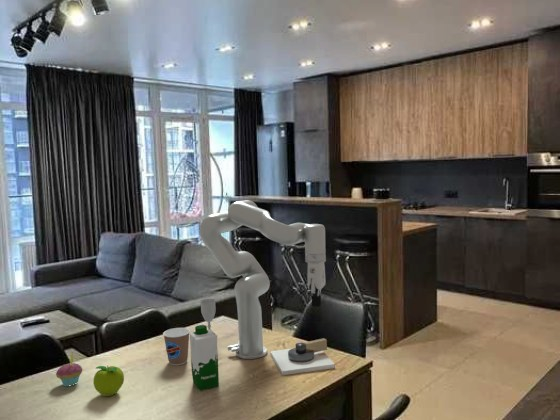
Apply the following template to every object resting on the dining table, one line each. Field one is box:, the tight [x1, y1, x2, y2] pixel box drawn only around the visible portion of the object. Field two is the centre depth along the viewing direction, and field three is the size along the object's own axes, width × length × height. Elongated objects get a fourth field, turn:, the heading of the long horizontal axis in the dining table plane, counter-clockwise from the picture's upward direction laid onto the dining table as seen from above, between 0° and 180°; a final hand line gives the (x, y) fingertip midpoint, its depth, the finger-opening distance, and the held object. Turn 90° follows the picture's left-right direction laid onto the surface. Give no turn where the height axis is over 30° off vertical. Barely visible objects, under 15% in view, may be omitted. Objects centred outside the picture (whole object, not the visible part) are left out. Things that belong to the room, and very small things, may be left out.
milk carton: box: [189, 324, 220, 391], centre depth 163 cm, size 9×9×20 cm
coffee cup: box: [162, 327, 191, 366], centre depth 185 cm, size 10×10×12 cm
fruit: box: [93, 365, 125, 397], centre depth 159 cm, size 9×9×10 cm
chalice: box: [199, 298, 217, 331], centre depth 206 cm, size 7×7×18 cm
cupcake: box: [55, 351, 83, 387], centre depth 169 cm, size 9×8×12 cm
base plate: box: [269, 347, 336, 376], centre depth 181 cm, size 20×20×2 cm
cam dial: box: [288, 337, 328, 362], centre depth 182 cm, size 16×10×5 cm, turn 116°
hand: (316, 305), depth 177 cm, fingers closed
